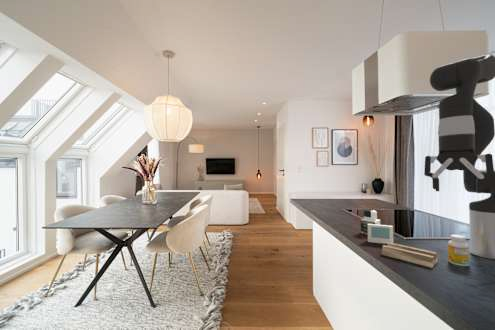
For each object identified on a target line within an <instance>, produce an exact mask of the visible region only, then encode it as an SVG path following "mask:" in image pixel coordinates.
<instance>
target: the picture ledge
mask: <svg viewBox="0 0 495 330" xmlns="http://www.w3.org/2000/svg"><path fill="white" fill-rule="evenodd" d="M381 248H382V249H381V255H382V256H386V257H390V258H394V259H398V260H402V261H404V262H405V261H406V262H409V263H413V264H416V265H420V266H424V267H427V268H431V269H433V268H434V266H436V264H437V263H438V261H439V259H438V252H436V251H430V250H427V249H421V248H418V247H413V246H409V245H404V244H403V245H402V244H399V243H394V242H393V243H390V242H388V243H387V244H386V245H385V244H383V245H382V247H381Z"/></svg>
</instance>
